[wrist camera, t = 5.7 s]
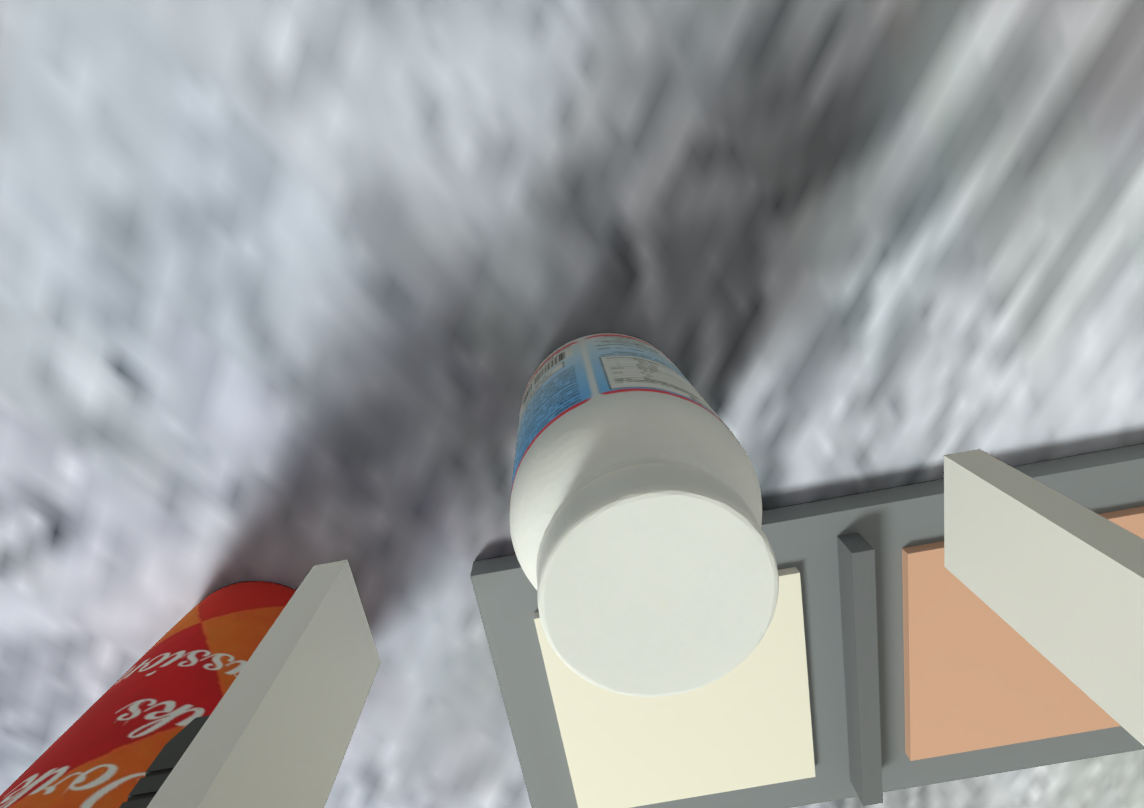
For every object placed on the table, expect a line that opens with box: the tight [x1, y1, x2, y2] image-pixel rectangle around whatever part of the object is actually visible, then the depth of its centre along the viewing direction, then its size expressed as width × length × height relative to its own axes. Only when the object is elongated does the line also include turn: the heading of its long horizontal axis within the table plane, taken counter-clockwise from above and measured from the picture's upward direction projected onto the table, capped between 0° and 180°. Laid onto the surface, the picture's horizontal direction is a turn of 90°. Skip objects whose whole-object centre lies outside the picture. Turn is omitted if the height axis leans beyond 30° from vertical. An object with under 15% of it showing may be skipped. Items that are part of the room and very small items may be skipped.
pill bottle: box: [510, 333, 779, 697], centre depth 17 cm, size 6×6×11 cm
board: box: [471, 444, 1144, 808], centre depth 25 cm, size 14×28×2 cm, turn 100°
